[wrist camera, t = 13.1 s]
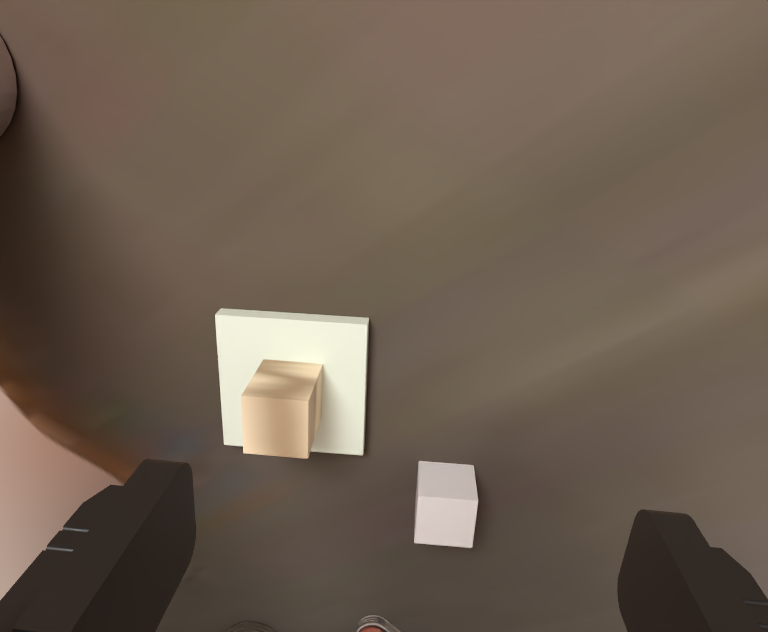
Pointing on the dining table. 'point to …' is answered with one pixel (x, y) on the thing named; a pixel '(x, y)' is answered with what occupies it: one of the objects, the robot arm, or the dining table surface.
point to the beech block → (282, 408)
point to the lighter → (375, 625)
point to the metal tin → (251, 627)
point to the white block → (445, 504)
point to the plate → (298, 344)
